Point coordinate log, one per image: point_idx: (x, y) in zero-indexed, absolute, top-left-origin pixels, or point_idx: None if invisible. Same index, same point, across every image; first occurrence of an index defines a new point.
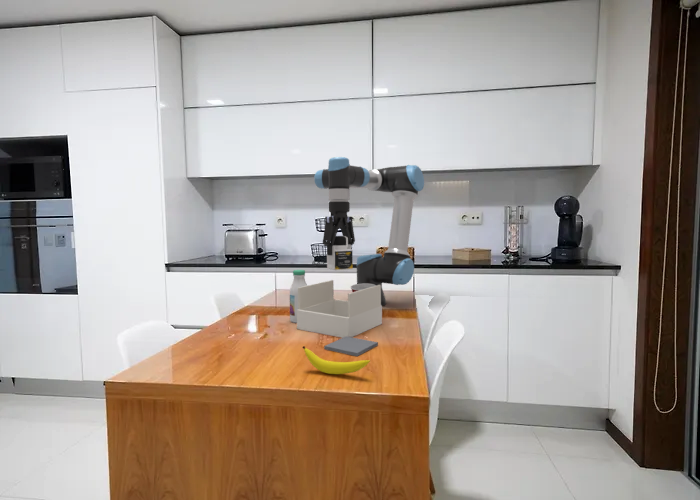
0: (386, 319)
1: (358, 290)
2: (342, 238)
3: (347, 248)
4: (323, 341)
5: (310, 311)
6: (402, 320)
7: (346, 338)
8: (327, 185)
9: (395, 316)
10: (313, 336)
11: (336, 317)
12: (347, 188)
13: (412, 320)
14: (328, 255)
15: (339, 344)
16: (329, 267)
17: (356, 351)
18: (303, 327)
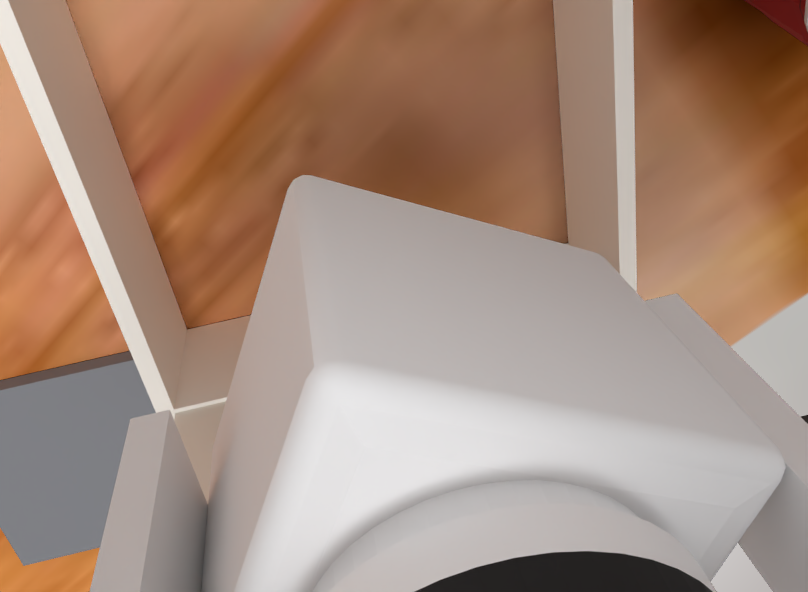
0: (698, 197)
1: (805, 15)
2: None
3: (788, 553)
4: (11, 286)
5: (27, 50)
6: (727, 284)
7: (130, 384)
8: None
9: (804, 186)
10: (9, 154)
11: (127, 335)
12: None
13: (756, 323)
14: (111, 564)
15: (24, 436)
16: (261, 286)
17: (35, 551)
18: None
